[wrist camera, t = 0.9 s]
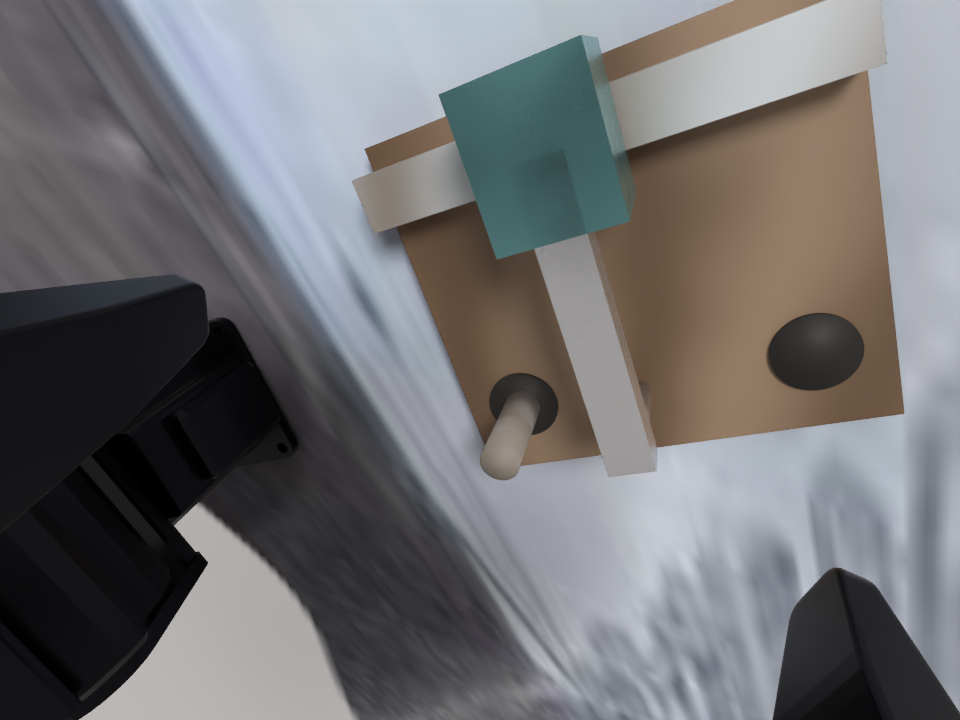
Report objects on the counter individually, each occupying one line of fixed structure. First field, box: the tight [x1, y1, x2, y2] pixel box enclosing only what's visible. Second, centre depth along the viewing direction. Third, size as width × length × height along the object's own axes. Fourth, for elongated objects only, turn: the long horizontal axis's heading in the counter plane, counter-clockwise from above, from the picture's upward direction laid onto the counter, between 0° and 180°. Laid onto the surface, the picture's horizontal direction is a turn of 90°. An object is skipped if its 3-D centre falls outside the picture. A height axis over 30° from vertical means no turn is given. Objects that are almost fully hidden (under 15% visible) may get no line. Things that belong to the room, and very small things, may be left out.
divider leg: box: [439, 35, 657, 477], centre depth 15 cm, size 3×10×4 cm, turn 20°
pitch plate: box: [352, 0, 904, 480], centre depth 17 cm, size 13×12×4 cm
